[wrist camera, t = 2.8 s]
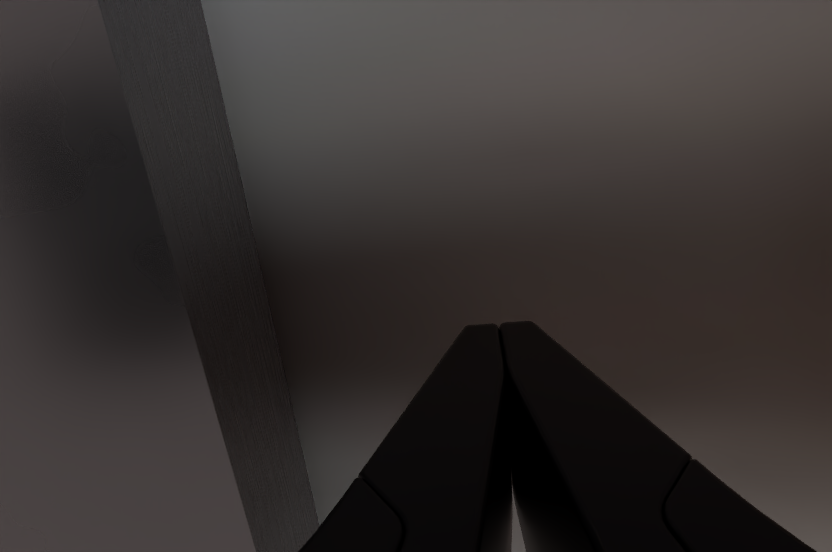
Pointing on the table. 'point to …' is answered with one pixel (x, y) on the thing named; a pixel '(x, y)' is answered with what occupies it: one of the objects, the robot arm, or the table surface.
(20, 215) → the link
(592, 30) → the table surface
